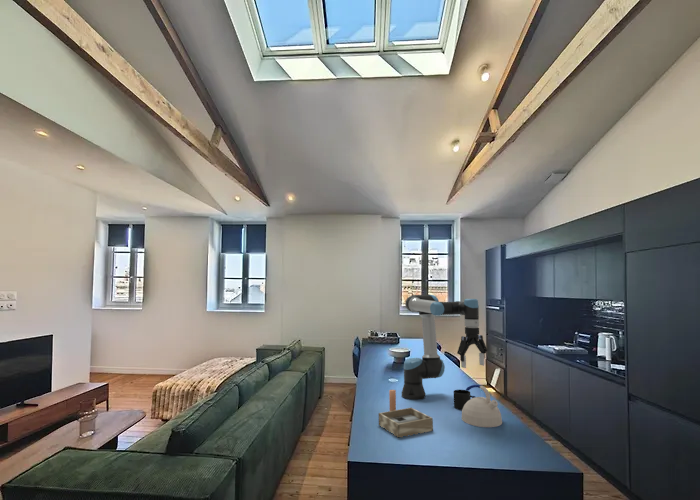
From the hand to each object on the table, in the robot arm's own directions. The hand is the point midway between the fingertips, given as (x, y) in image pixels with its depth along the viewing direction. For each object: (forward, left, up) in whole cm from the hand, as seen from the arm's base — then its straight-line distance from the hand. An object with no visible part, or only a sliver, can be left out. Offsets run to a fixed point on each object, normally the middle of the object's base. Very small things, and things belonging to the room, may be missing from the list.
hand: (472, 366), depth 208 cm
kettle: (+6, -1, -27) cm, 28 cm away
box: (-3, -43, -26) cm, 51 cm away
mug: (-14, +6, -27) cm, 31 cm away
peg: (-19, -40, -27) cm, 52 cm away
